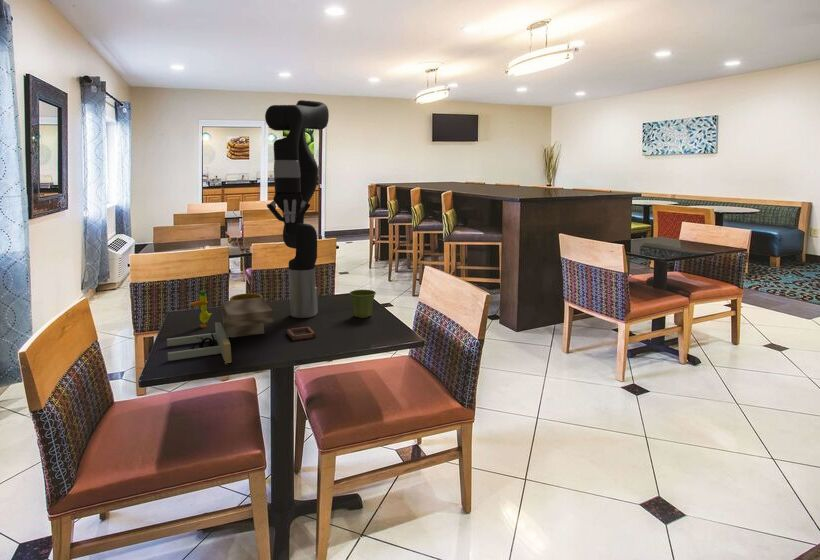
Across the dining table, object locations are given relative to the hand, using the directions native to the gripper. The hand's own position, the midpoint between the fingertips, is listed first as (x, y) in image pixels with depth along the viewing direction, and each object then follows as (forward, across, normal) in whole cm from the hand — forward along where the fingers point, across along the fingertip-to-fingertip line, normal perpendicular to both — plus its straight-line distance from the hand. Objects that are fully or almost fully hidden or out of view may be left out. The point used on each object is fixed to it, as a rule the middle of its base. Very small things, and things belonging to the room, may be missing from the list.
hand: (289, 235), depth 150 cm
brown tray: (+32, -2, 0) cm, 32 cm away
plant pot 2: (+32, -28, -13) cm, 45 cm away
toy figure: (+32, +25, -24) cm, 47 cm away
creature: (+32, +27, +2) cm, 42 cm away
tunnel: (+32, +14, 0) cm, 35 cm away
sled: (+32, +28, +5) cm, 43 cm away
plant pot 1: (+32, +11, -19) cm, 39 cm away
